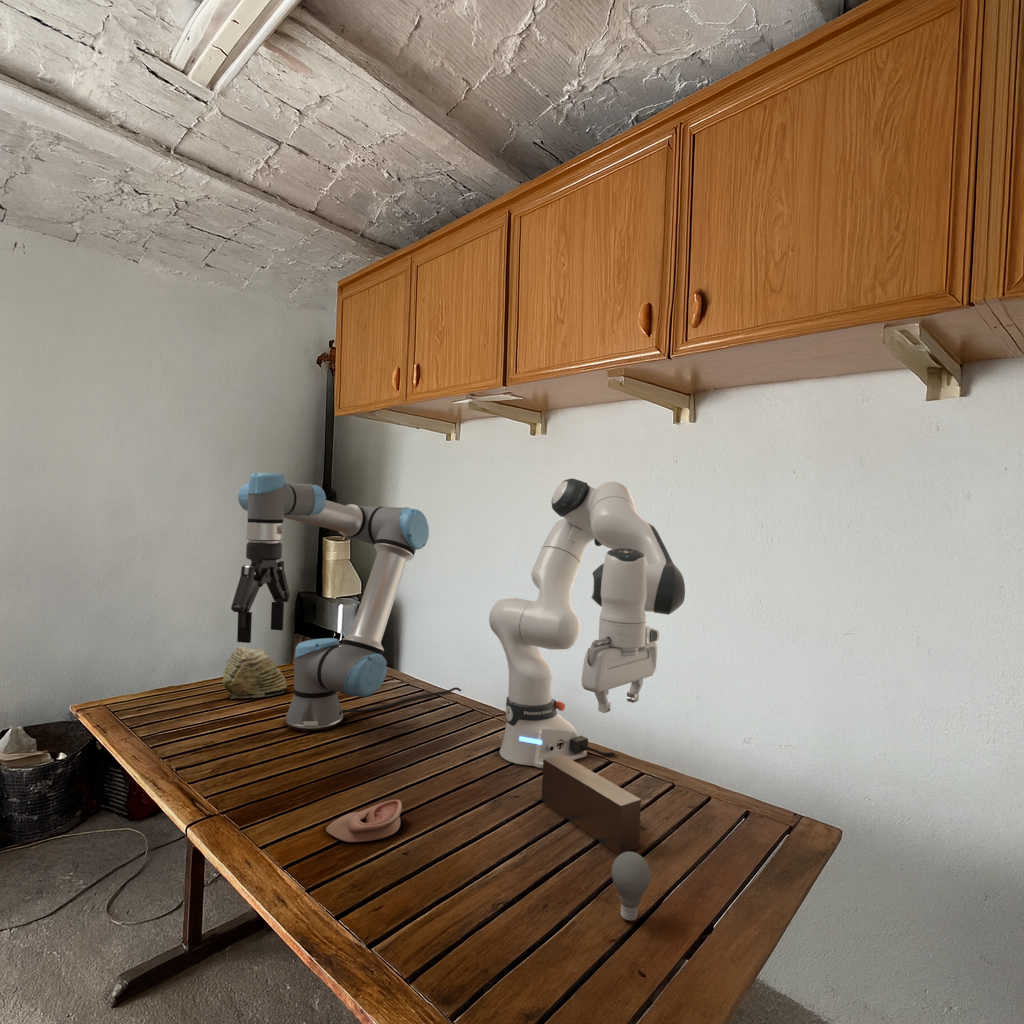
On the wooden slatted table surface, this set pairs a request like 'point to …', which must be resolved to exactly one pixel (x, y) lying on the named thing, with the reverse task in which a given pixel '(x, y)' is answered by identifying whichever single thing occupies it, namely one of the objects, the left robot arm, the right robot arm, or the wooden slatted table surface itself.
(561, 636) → the right robot arm
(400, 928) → the wooden slatted table surface
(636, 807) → the bar
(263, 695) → the fossil
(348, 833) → the anatomical model
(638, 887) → the light bulb
